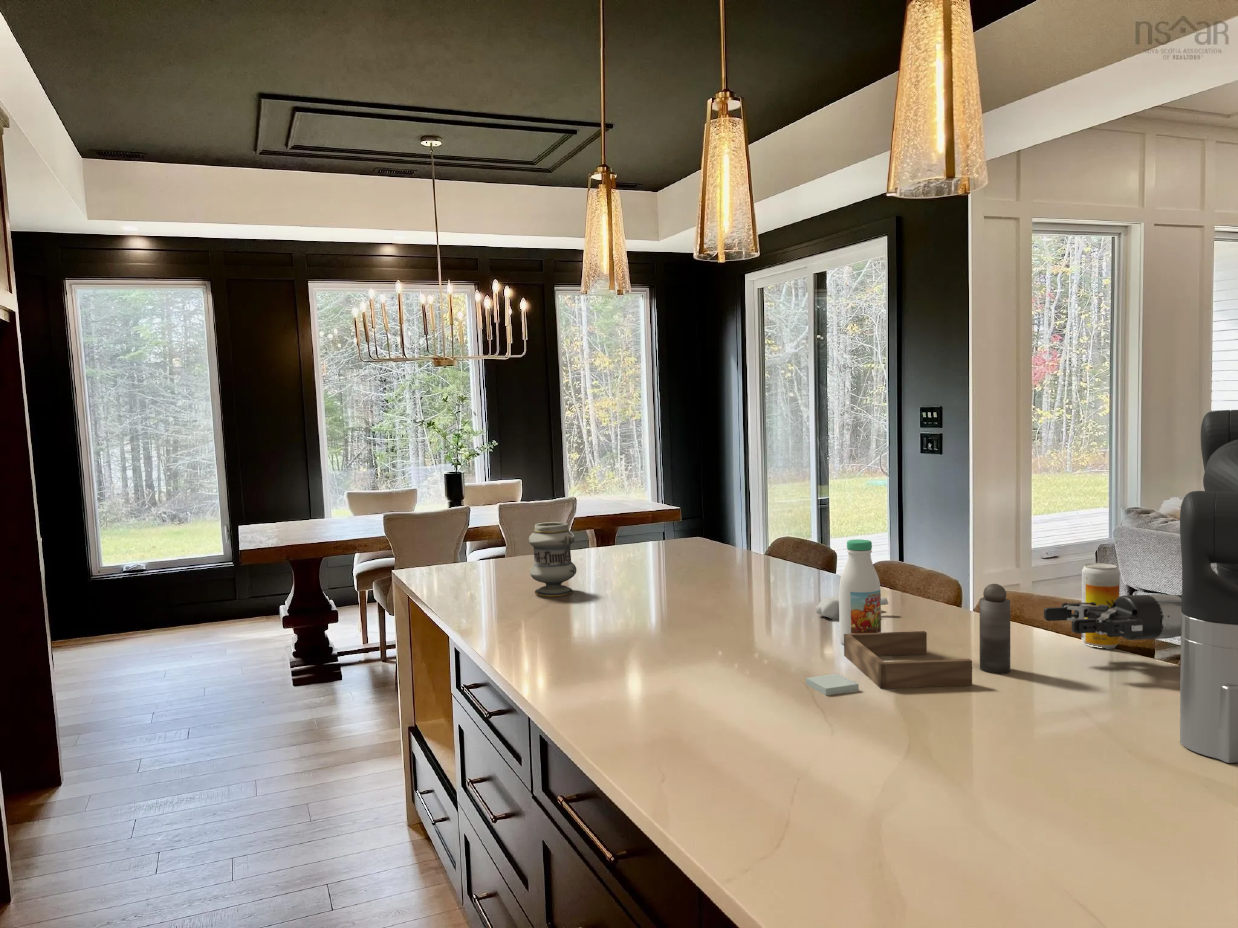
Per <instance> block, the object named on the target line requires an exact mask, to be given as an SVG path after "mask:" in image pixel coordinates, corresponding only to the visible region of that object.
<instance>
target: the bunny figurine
mask: <svg viewBox="0 0 1238 928" xmlns="http://www.w3.org/2000/svg"><path fill="white" fill-rule="evenodd" d="M885 605H889V601H888V598H887V597H881V606H885ZM815 613H816V614H818V615H821V616H823V617H825V618H828V619H831V620H839V594H837V595H836V596H830V597H825V598H822V599H821V600H820V601H819V603H818V604H817V605H815Z"/></svg>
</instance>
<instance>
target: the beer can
mask: <svg viewBox="0 0 1238 928" xmlns="http://www.w3.org/2000/svg"><path fill="white" fill-rule="evenodd" d="M1120 573H1121V572H1120V571H1119V569H1118V566H1117V565H1115V564H1110V563H1101V562H1100V563H1098V562H1090V563H1088V562H1087V563H1085V564H1084V566H1083V568H1082V569H1081V603H1090V602H1094V603H1096V605H1099V604H1103V605H1109V608H1110V607H1111V606H1112V605H1113V604H1114V602H1115V600H1116V599H1117V598H1118V597H1120V583H1121V582H1120V575H1121V574H1120ZM1085 619H1088V617H1085ZM1081 641H1082V642H1083V643H1084V645H1085V644H1089V645H1093V646H1098V647H1102V648H1106V649H1105V650H1112V649H1115V648H1116V647H1117V646H1118V645H1119V644H1120V637H1109V636H1107V634H1102V635H1100V634H1097V633H1081Z"/></svg>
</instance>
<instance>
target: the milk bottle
mask: <svg viewBox="0 0 1238 928" xmlns="http://www.w3.org/2000/svg"><path fill="white" fill-rule="evenodd" d="M846 549H847V550H846V552H847V553H848V555H847V560H846V562H845V566H844V568H843V570H842V573H841V575H840V578H839V587H838V588H839V589H838V591H839V593H838V595H839V619H838V620H839V624H838V625H839V626H838V627H839V641H840V644H842V645H843V646H844V634H858V633H882V605H881V598H882V597H881V596H882V595H881V592H882V591H881V582H880V579H879V575H878V572H877V571H876V568H875V567H874V564H873V560H872V556H871V553H872V552H873V551H872V549H873V543H872V541H871V540H869V539H861V538H860V539H849V540H847V542H846Z"/></svg>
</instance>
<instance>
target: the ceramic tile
mask: <svg viewBox="0 0 1238 928" xmlns="http://www.w3.org/2000/svg"><path fill="white" fill-rule="evenodd" d="M805 685H807V686H808V687H810V688H812V689H813V690H815V691H817V692H819V693H821V694H822V695H824V696H831V695H833V696H834V695H838V694H839V695H840V694H847V693H853V692H854V693H855V692H859V690H860V689H859V688H860V687H859V683H857V682H855V681H854V680H851V679H850V678H847V677H846V676H844V675H841V674H839V673H832V674H826V675H825V674H824V675H817V676H809V677H805Z"/></svg>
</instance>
